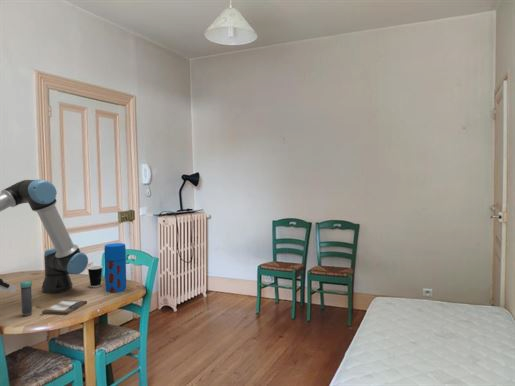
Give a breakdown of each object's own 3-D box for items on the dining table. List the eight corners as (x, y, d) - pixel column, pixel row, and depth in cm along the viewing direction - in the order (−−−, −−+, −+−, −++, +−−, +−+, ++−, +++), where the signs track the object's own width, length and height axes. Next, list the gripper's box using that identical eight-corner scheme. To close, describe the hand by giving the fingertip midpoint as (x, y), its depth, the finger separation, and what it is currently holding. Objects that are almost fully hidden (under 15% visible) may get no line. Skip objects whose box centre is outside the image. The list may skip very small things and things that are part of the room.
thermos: (112, 286, 218) (111, 242, 216) (130, 287, 215) (129, 243, 214) (101, 292, 207) (100, 246, 206) (119, 293, 205) (118, 246, 204)
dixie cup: (88, 285, 220) (87, 266, 220) (103, 283, 223) (102, 265, 223) (87, 289, 213) (87, 269, 213) (103, 287, 216) (102, 268, 216)
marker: (26, 312, 176) (25, 280, 175) (34, 313, 175) (33, 280, 175) (19, 316, 172) (17, 283, 171) (27, 316, 171) (26, 283, 170)
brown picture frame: (64, 302, 190) (64, 297, 190) (86, 303, 189) (86, 298, 189) (42, 313, 175) (42, 309, 175) (66, 314, 173) (66, 310, 173)
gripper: (-50, 276, 165) (-1, 297, 176) (-40, 275, 148) (13, 298, 159) (-38, 261, 169) (9, 282, 180) (-27, 258, 152) (24, 281, 163)
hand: (11, 290), depth 170 cm, fingers open, 13 cm apart
